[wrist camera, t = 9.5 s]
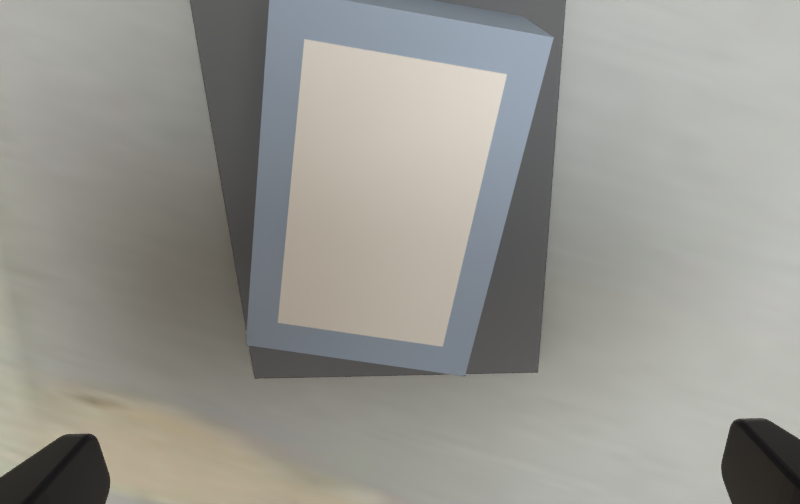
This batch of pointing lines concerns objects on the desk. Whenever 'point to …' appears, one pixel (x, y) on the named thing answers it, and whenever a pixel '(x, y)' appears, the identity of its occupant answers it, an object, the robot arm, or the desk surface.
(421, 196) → the card deck
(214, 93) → the mat
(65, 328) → the desk surface
